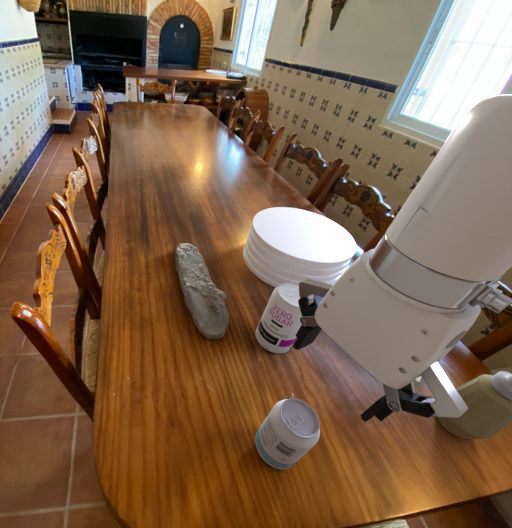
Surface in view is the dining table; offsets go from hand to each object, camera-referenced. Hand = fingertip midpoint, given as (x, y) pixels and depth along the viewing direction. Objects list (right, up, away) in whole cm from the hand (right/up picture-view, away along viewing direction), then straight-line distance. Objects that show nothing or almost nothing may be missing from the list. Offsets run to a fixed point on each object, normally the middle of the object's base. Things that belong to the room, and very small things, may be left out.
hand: (333, 376), depth 35 cm
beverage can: (-1, -18, +15) cm, 24 cm away
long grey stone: (-11, +7, +44) cm, 46 cm away
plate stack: (+19, +14, +56) cm, 61 cm away
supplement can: (+5, -4, +33) cm, 33 cm away
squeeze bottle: (+35, -17, +21) cm, 44 cm away
